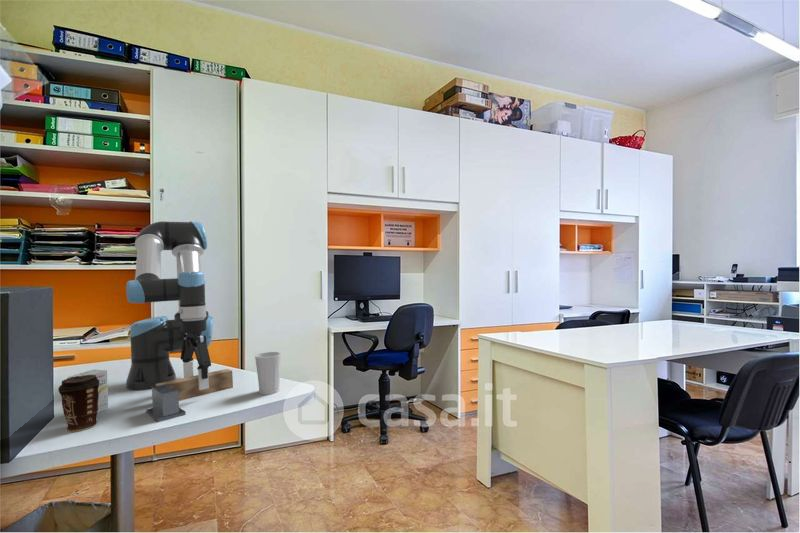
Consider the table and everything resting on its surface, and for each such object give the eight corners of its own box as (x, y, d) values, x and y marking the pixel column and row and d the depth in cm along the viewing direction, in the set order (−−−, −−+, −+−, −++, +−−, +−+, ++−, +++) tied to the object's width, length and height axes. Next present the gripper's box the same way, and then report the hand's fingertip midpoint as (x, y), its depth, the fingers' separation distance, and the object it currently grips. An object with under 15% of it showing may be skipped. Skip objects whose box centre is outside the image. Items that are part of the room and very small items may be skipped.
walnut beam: (160, 406, 123) (159, 386, 123) (156, 403, 126) (155, 383, 126) (233, 388, 139) (232, 370, 139) (228, 386, 142) (227, 368, 142)
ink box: (95, 408, 123) (93, 368, 123) (109, 408, 122) (107, 369, 122) (66, 419, 115) (64, 377, 114) (82, 420, 114) (80, 377, 113)
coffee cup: (77, 421, 112) (74, 374, 112) (109, 419, 113) (106, 372, 113) (52, 435, 104) (50, 383, 104) (87, 432, 104) (85, 381, 104)
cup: (251, 392, 133) (250, 355, 133) (274, 386, 139) (272, 350, 139) (264, 397, 128) (262, 358, 128) (286, 390, 134) (285, 353, 133)
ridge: (146, 412, 118) (145, 388, 118) (173, 405, 123) (172, 382, 123) (157, 422, 110) (156, 396, 110) (185, 414, 115) (184, 389, 115)
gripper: (168, 318, 138) (171, 381, 138) (194, 323, 121) (197, 395, 121) (192, 316, 144) (194, 376, 143) (220, 320, 126) (223, 389, 126)
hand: (196, 385), depth 132 cm, fingers open, 13 cm apart
